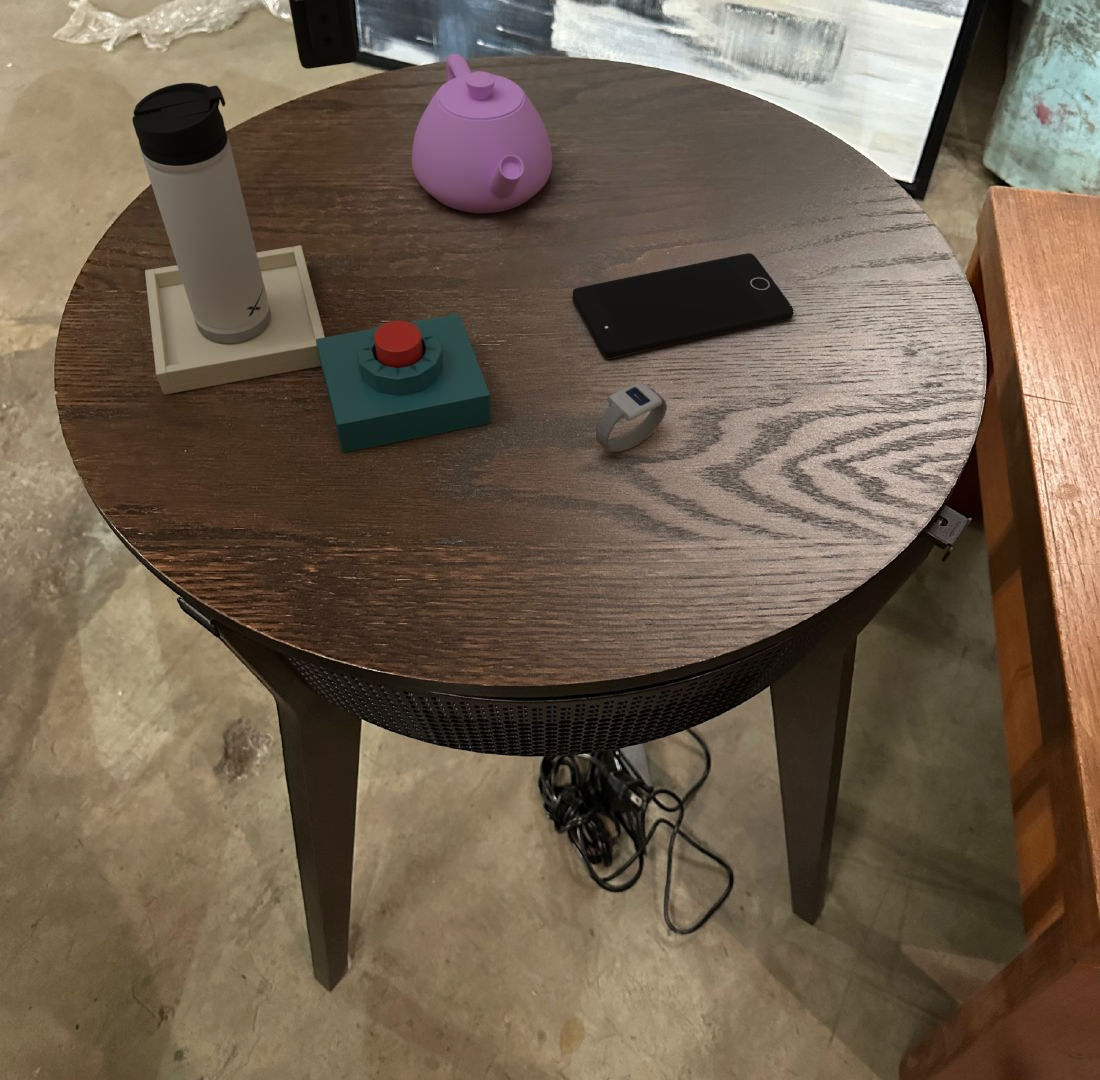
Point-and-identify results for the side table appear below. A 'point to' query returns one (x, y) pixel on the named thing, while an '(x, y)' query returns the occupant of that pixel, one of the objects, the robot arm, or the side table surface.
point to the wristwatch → (631, 416)
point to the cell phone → (680, 305)
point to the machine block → (403, 386)
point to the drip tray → (209, 363)
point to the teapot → (480, 143)
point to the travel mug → (203, 209)
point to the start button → (398, 344)
